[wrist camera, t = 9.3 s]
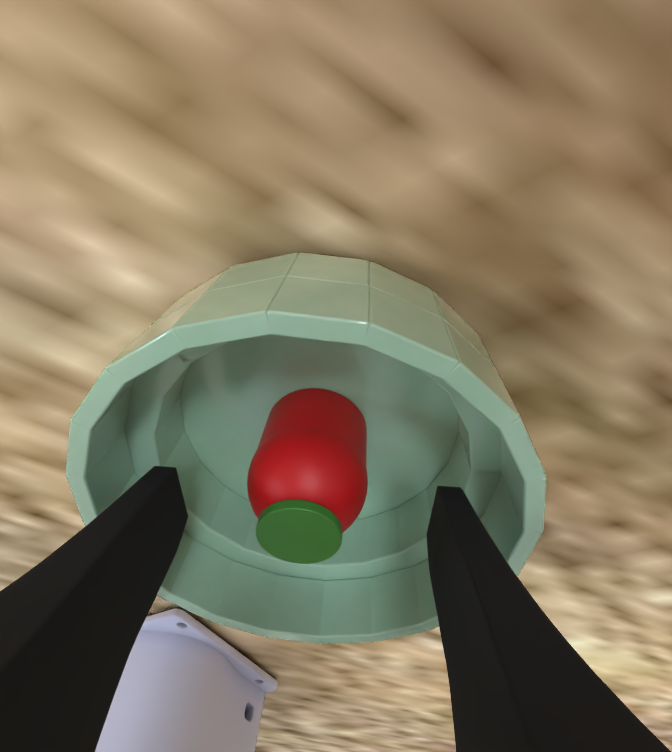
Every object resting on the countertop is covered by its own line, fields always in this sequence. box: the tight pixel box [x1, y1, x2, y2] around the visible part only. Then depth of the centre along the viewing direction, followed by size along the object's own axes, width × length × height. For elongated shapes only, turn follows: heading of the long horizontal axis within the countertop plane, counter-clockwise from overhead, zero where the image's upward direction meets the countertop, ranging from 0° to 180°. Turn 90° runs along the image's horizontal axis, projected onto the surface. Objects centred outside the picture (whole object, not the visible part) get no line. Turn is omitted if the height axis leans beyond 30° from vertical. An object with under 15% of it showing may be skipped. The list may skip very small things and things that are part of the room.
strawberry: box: [247, 388, 368, 564], centre depth 12 cm, size 4×4×4 cm
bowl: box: [66, 252, 547, 644], centre depth 12 cm, size 12×12×4 cm
